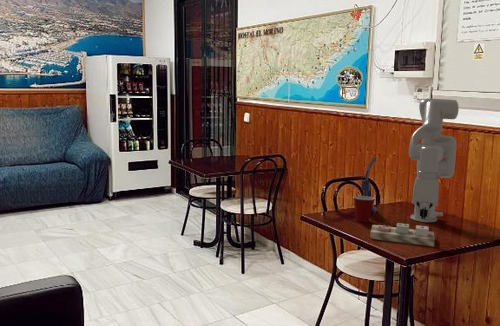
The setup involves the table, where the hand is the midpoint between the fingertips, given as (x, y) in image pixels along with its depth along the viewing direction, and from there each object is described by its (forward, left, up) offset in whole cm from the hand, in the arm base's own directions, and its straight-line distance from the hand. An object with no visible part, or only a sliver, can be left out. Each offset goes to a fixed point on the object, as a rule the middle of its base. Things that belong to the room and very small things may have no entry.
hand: (423, 218), depth 215 cm
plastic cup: (+12, -33, -10) cm, 37 cm away
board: (+7, -4, -10) cm, 13 cm away
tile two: (+7, -4, -8) cm, 11 cm away
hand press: (+1, -51, -10) cm, 52 cm away
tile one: (0, 0, -8) cm, 8 cm away
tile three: (+14, -8, -9) cm, 18 cm away
